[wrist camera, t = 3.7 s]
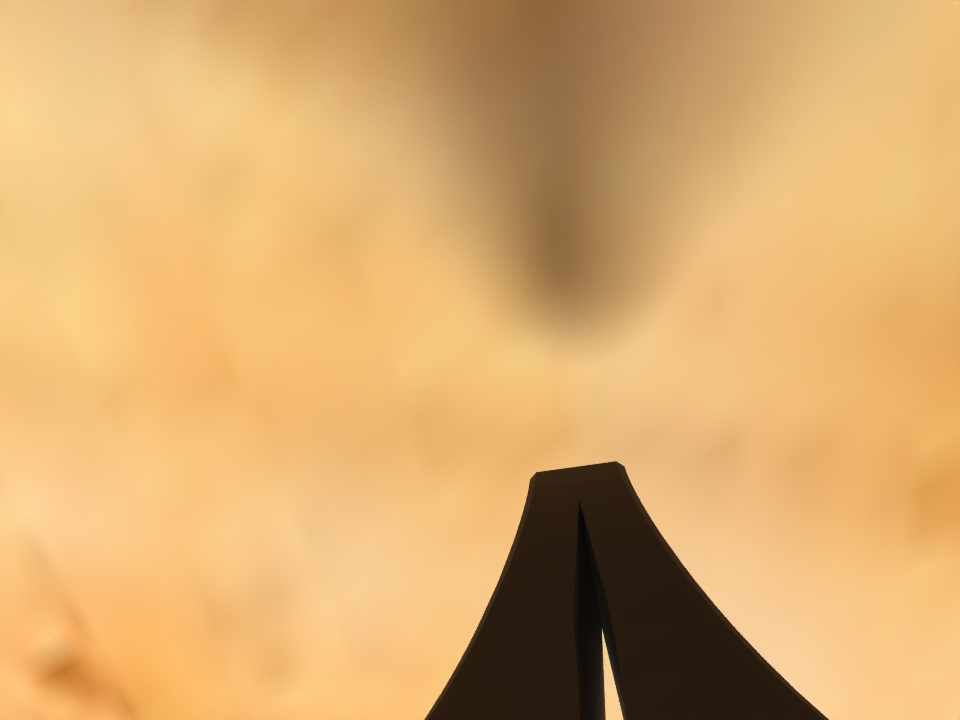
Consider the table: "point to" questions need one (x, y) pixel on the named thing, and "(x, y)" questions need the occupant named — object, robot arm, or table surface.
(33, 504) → the table surface
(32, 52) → the table surface
